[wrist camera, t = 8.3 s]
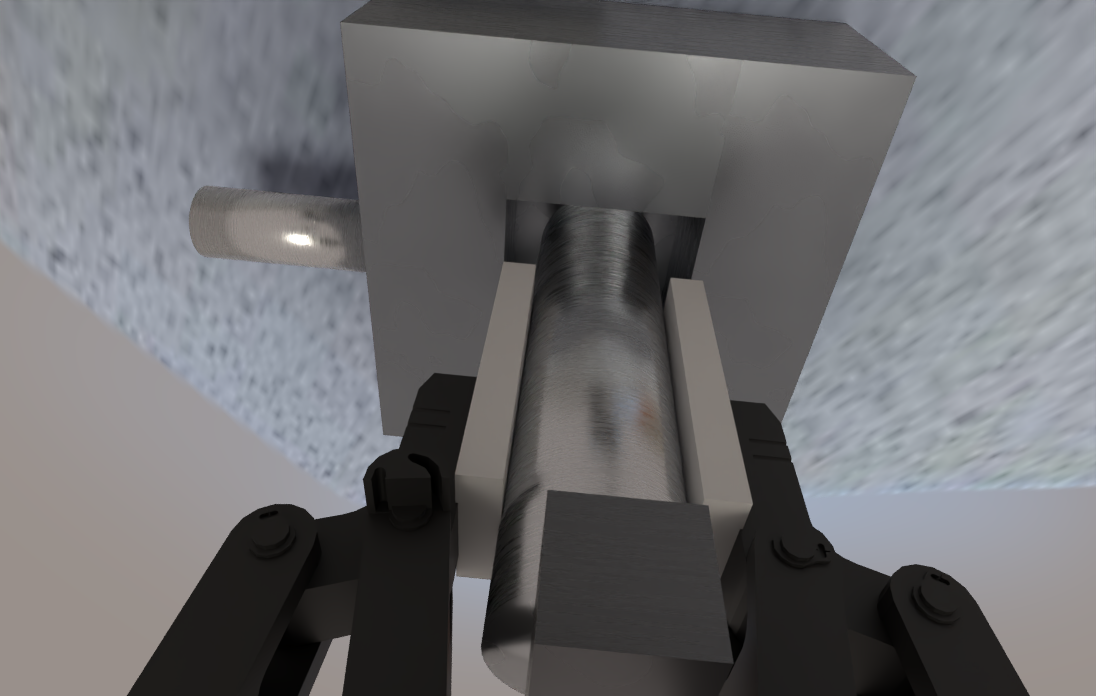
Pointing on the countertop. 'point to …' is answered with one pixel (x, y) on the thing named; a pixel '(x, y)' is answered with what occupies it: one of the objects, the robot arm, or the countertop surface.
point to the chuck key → (601, 488)
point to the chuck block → (585, 170)
